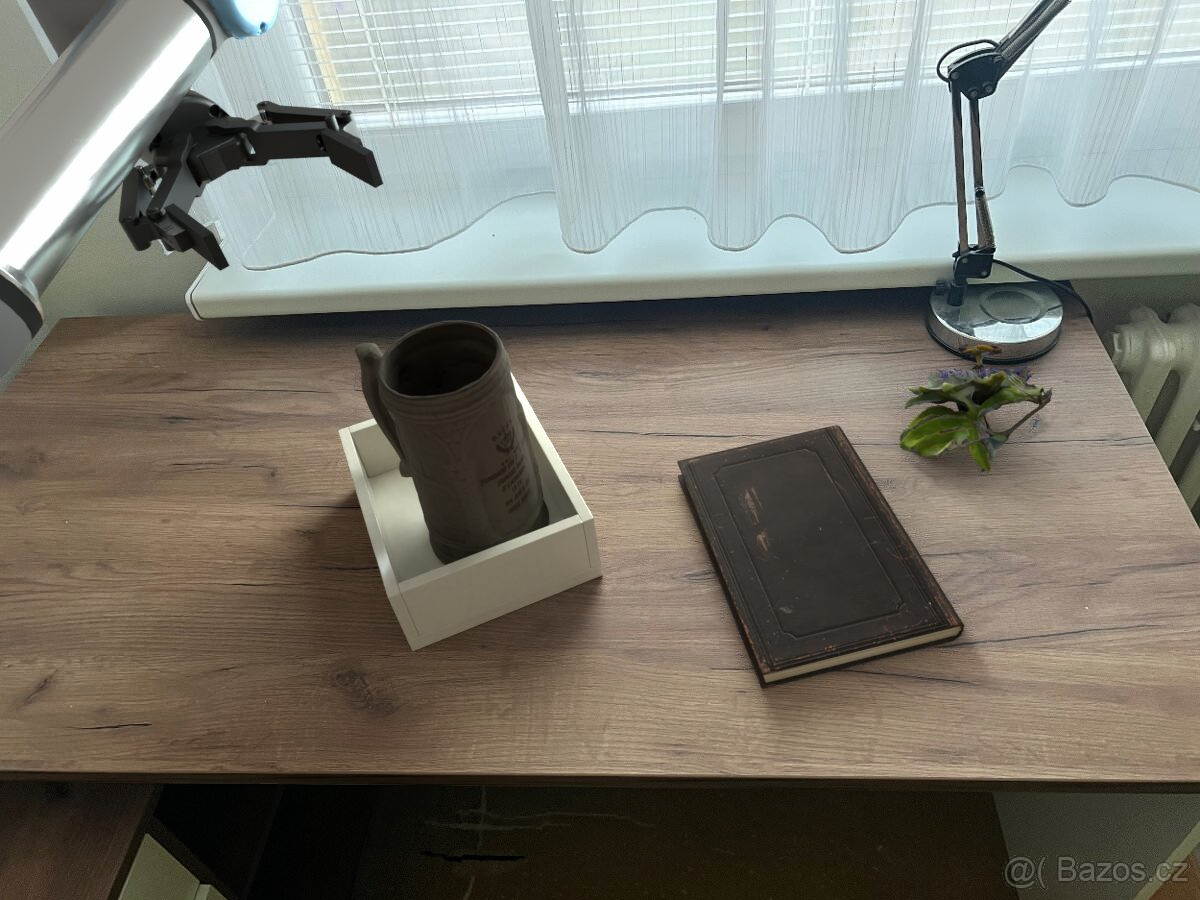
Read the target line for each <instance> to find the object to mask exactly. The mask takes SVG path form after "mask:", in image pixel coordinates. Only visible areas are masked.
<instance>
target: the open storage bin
mask: <svg viewBox="0 0 1200 900" xmlns="http://www.w3.org/2000/svg"><path fill="white" fill-rule="evenodd" d="M511 376H512V379H513V382H514V386H515V391H516V395H517V397H518V399H519V401H520V402H521V404H522V406H523V410H524V413H525V416H526V419H527V423H528V428H529V434H530V438H531V441H532V445H533V449H534V453H535V455H536V457H537V461H538V464H539V473H540V477H541V486H542V491H543V499H544V501H545V503H546V505H547V508H548V511H549V526H547V527H544V528H541V529H539V530H536V531H533V532H531V533H528V534H526V535H523V536H520V537H518V538H515V539H513V540H510V541H507V542H505V543H502V544H500V545H497V546H494V547H492V548H489V549H487V550H484V551H481V552H479V553H476V554H473V555H471V556H468V557H466V558H463V559H460V560H458V561H455V562H453V563H450V564H447V565H445V564H443V563H442V562H441V561H440V560H439V559H438V558H437V557H436V555H435V553H434V552H433V549H432V546H431V544H430V539H429V530H428V528H427V526H426V523H425V521H424V515H423V511H422V508H421V505H420V502H419V498H418V494H417V491H416V489H415V485H414V482H413V479H412V477H408V478H406V477H402V476H401V474H400V471H399V462H400V461H401V460H400V458H399V456H398V454H397V453H396V451H395V449H394V448H393V446H392V445H391V444H390V442H389V441H388V439H387V438H386V436H385V435H384V434H383V432H382V430H381V429H380V427H379V426H378V424H377V422H376V421H375V419H374V417H372V418H370V419H367V420H365V421H361V422H359V423H355V424H352V425H349V426H347V427H344V428H341V429H337V433H338V436H339V439H340V443H341V446H342V450H343V453H344V455H345V459H346V463H347V466H348V470H349V473H350V476H351V480H352V483H353V486H354V489H355V493H356V497H357V499H358V504H359V506H360V509H361V513H362V517H363V520H364V523H365V526H366V530H367V533H368V536H369V539H370V544H371V546H372V550H373V554H374V556H375V560H376V564H377V566H378V570H379V573H380V578H381V580H382V583H383V587H384V590H385V593H386V597H387V599H388V601H389V604H390V606H391V608H392V611H393V612H394V615H395V616H396V619H397V621H398V623H399V625H400V628H401V630H402V632H403V634H404V637H405V639H406V641H407V643H408V645H409V648H410V650H411V651H412V652H415V651H418V650H421V649H423V648H425V647H428V646H430V645H433V644H435V643H438V642H440V641H443V640H446V639H448V638H450V637H452V636H455V635H457V634H460V633H462V632H465V631H468V630H470V629H472V628H475V627H477V626H480V625H482V624H485V623H488V622H490V621H492V620H495V619H498V618H499V617H503V616H504V615H507V614H510V613H513V612H514V611H517V610H519V609H522V608H524V607H527V606H530V605H532V604H535V603H537V602H540V601H543V600H544V599H548V598H550V597H552V596H555V595H556V594H559V593H562V592H564V591H568V590H569V589H572V588H574V587H577V586H579V585H582V584H584V583H587V582H589V581H592V580H595V579H597V578H599V577H601V576H603V575H604V573H603V572H604V571H603V566H602V559H601V554H600V548H599V542H598V535H597V528H596V522H595V517H594V515H593V514H592V512H591V510H590V509H589V506H587V503H586V501H585V500H584V498H583V496H582V494H581V492H580V491H579V489H578V487H577V486H576V483H575V482H574V480H573V478H572V477H571V475H570V474H569V471H568V470H567V468H566V466H565V465H564V462H563V461H562V459H561V457H560V456H559V453H558V452H557V450H556V448H555V447H554V445H553V443H552V441H551V440H550V438H549V436H548V435H547V433H546V431H545V429H544V428H543V426H542V424H541V422H540V420H539V418H538V416H537V415H536V414H535V411H534V409H533V408H532V405H530V403H529V401H528V399H527V398H526V396H525V394H524V392H523V390H522V389H521V387H520V385H519V383H518V382H517V380H516V378H515V376H514V375H513V373H512V372H511Z"/></svg>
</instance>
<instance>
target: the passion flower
mask: <svg viewBox="0 0 1200 900" xmlns="http://www.w3.org/2000/svg"><path fill="white" fill-rule="evenodd" d="M957 350H958V354H960V355H962V356H967V358H975V361H976V364H975V365H974V366H973V367H972V368H970V369H968V370H967V369H966V370H964V369H962V368H960V369H956V368H953V369H948V368H947V369H945V370H943V369H942V370H941V369H938V368H937V369H936V371H938V372H930V374H929V375H928V376H927V379H926V381H925V384H926V385H927V386H924V385H920V384H919V385H918V388H916V387H911V386H908V387H907V388H908V390H909V391H910V392H911V393H912V394H913V395H916V396H913V397H911V398H910V399H908V401H906V402H905V403H904V407H903V409H905V410H907V409H908V408H911V407H913V406H915V405H917V406H920V405H923V404H935V405H931V406H928V407H927V408H926V409H925V410H923V411H921V412H920V413H919V414H918V415H916V416H915V417H914V419H912V421H911V422H910V423H909V424H908V426H907V427H905V428H904V429H903V430H902V431H901V432H900V434H899V441H900V442H899V448H900V449H902V450H903V451H907V452H915V453H916V454H917V455H918V456H921V457H926V458H928V457H937V458H939V459H942V458H943V457H944V455H945V454H946V453H949V452H951V451H953V450H955V449H957V448H959V447H962V448H966V447H968V451H969V452H970V455H971V458H972V459H973V460H974V461H975V462H976V464H977V465H978V466H980V468H982V469H981V473H985V471H986V472H988V473H989V472H990V471H991V469H992V467H991V463H992V460H993V459H994V457H995V456H996V454H997V453H998V451H999V450H1000V448H1001V447H1002V446H1003V445H1004V444H1005V443H1006V442H1007V441H1008V440H1009V438H1010V436H1011V435H1012V433H1014V431H1016V430H1017V429H1018V428H1019V427H1021V426H1022V425H1023V424H1024V423H1026V421H1028V420H1029V419H1030V418H1031V417H1033V416H1034V415H1035V414H1037V413H1038V412H1040V411H1041V410H1042V409H1044V408H1045V407H1046V406H1047V405H1048V404H1049V403H1050V402H1051V400H1052V396H1053V391H1052V390H1053V387H1052V386H1051V387H1050V388H1049V389H1048V390H1046V391H1045V389H1044V387H1037V386H1036V385H1035V384H1033V383H1032V384H1029V383H1028V381H1029V380H1030V378H1032V377H1033V375H1032V374H1029V373H1030V372H1031V368H1030V367H1028V366H1022V367H1019V368H1013V369H1012V368H1009V367H1008V368H1001V369H999V368H998V367H994V366H991V367H989V368H986V367H985V366H984V364H983V358H984V357H985V356H994V355H998V354H1003V353H1004V351H1005V349H1004V348H1003V347H999V346H997V345H986V344H980V343H978V344H963V345H959V346H958V347H957ZM1022 402H1029V403H1032V404H1035V405H1037V407H1035V408H1034V409H1033V410H1031V411H1030V412H1029V413H1026V415H1025V416H1024V417H1022V418H1021V419H1020V420H1019V421H1018V422H1016V423H1015V424H1013V426H1012V427H1010V428H1009V429H1005V430H1003V431H995V430H993V429H992V427H991V426H990V424H989V422H988V420H987V417H986V415H988V414H989V413H991V412H992V411H997V410H999V409H1000V408H1001V407H1002V406H1008V405H1013V404H1021V403H1022ZM946 403H955V405H956V408H957V410H958V411H956V410H954V409H953V408H951V407H948V406H945V405H943V404H946ZM983 420H984V422H983ZM984 424H985V425H984ZM981 432H984V433H986V434H988V435H989V436H985V435H983V434H982V433H981Z"/></svg>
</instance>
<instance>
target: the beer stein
mask: <svg viewBox="0 0 1200 900" xmlns="http://www.w3.org/2000/svg"><path fill="white" fill-rule="evenodd" d="M354 352H355V355H356V357H357V359H358V362H359V366H360V380H361V384H360V385H361V391H362V394H363V397H364V399H365V402H366V405H367V407H368V409H369V411H370V413H371V415H372V418H374V419H375V421H376V422H377V424H378V426H379V427H380V429H381V430H382V432H383V434H384V435H385V436H386V438H387V439H388V441H389V442H390V444H391V445H392V446H393V448H394V449H395V451H396V453H397V454H398V456H399V458H400V460H401V461H400V462H399V471H400V474H401V476H402V477H406V478H408V477H412V479H413V482H414V485H415V489H416V491H417V494H418V498H419V502H420V505H421V508H422V511H423V515H424V521H425V523H426V526H427V528H428V530H429V539H430V544H431V546H432V549H433V552H434V553H435V555H436V557H437V558H438V559H439V560H440V561H441V562H442V563H443V564H445V565H447V564H450V563H453V562H455V561H458V560H460V559H463V558H466V557H468V556H471V555H473V554H476V553H479V552H481V551H484V550H487V549H489V548H492V547H494V546H497V545H500V544H502V543H505V542H507V541H510V540H513V539H515V538H518V537H520V536H523V535H526V534H528V533H531V532H533V531H536V530H539V529H541V528H544V527H547V526H549V511H548V508H547V505H546V503H545V501H544V499H543V491H542V486H541V477H540V473H539V464H538V461H537V457H536V455H535V453H534V449H533V445H532V441H531V438H530V434H529V428H528V423H527V419H526V416H525V413H524V410H523V406H522V404H521V402H520V401H519V399H518V397H517V395H516V391H515V386H514V382H513V379H512V376H511V373H512V372H511V371H512V364H511V359H510V356H509V353H508V351H507V350H506V348H505V347H504V344H503V342H502V340H501V338H500V337H499V335H498V334H497V333H496V332H495V331H494V330H493V329H492V328H490V327H488V326H486V325H485V324H482V323H479V322H474V321H469V320H461V319H459V320H457V319H456V320H443V321H438V322H432V323H430V324H426V325H423V326H421V327H418V328H415V329H413V330H411V331H409V332H407V333H406V334H405V335H403V336H401V337H399V338H398V339H397V340H395V341H393V343H391V345H390V346H389V347H388V348H387V349H386V350H385V351H384V353H382V351H381V349H380V348H379V346H378V344H377V343H373V342H363V343H360V344H357V345H356V347H355V348H354Z"/></svg>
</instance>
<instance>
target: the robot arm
mask: <svg viewBox="0 0 1200 900" xmlns="http://www.w3.org/2000/svg"><path fill="white" fill-rule="evenodd" d="M25 1H26V3H27V4H28V6H29V8H30V9H31V11H32V13H33V15H34V17H35V18H36V20H37V22H38V24H39V26H40V28H41V29H42V31H43V32H44V34H45V36H46V38H47V39H48V41H49V43H50V44H51V47H52V48H53V50H54V52H55V53H56V56H57V59H56V60H55V61H54V62H53V63H52V64H51V66H50V67H49V68H48V70H46V72H45V73H44V74H43V75H42V77H40V79H39V80H38V81H37V82H36V84H34V86H33V87H32V88H31V89H30V90H29V92H28V93H27V94H26V95H25V96H24V97H23V98H22V100H21V101H20V102H19V103H18V105H16V106H15V108H14V109H13V110H12V111H11V113H10V114H9V115H8V116H7V117H6V118H5V120H3V122H1V124H0V381H1V380H2V379H3V378H4V377H5V376H6V375H7V374H8V373H9V371H10V370H11V369H12V368H13V366H14V365H15V364H16V363H17V361H18V360H19V359H20V357H21V356H22V355H23V354H24V353H25V352H26V350H27V349H28V348H29V346H30V345H31V343H32V342H33V340H34V339H35V337H36V335H37V334H38V333H39V331H40V330H41V328H43V325H44V324H45V322H46V314H45V311H44V308H43V306H42V303H41V300H40V298H41V297H42V296H43V294H44V293H45V291H46V290H47V289H48V288H49V286H50V284H51V283H52V282H53V280H54V279H55V278H56V276H57V275H58V273H59V272H60V271H61V270H62V268H63V266H64V265H65V263H67V261H68V260H69V258H70V256H71V255H72V254H73V252H74V251H75V250H76V248H77V247H78V245H79V244H80V243H81V241H82V240H83V238H84V237H85V236H86V234H87V233H88V231H89V230H90V228H91V227H92V226H93V224H94V223H95V221H96V220H97V219H98V218H99V217H100V215H101V213H102V212H103V210H104V209H105V208H106V206H107V205H108V204H109V202H110V201H111V200H112V198H113V197H114V195H115V194H116V192H117V191H118V190H119V188H120V187H121V193H120V194H121V195H120V204H119V212H118V220H117V221H118V223H119V225H120V226H121V228H122V230H123V232H124V233H125V235H126V236H127V238H128V240H129V241H130V243H131V245H132V247H133V248H134V250H135V251H136V252H143V251H147V250H148V249H149V248H151V247H152V244H153V241H157V240H159V241H160V242H161V244H162V245H163V247H164V249H165V250H166V252H175V251H176V252H178V253H185V252H188V251H189V250H191V249H192V250H193V251H194V252H196V253H197V254H198V255H199V256H201V257H202V258H203V259H205V261H207V262H208V263H209V264H211V265H212V266H213V267H215V268H216V269H217V270H218V271H220V272H221V271H223V270H226V268H229V267H230V266H231V265H230V264H229V261H228V260H227V258H226V256H225V253H224V251H223V250H222V248H221V246H220V243H219V242H218V240H217V238H216V236H215V234H214V232H212V230H210V229H209V228H207V227H206V226H205V225H203V224H202V223H201V222H199V221H198V220H196V218H194V217H193V216H191V215H190V214H189V212H190V210H191V208H192V205H193V204H194V201H195V199H197V198H201V197H202V195H203V193H204V191H205V189H206V186H207V185H209V184H210V183H211V182H214V181H216V180H217V179H219V178H221V177H223V176H224V175H226V174H227V173H229V172H232V171H237V170H240V169H241V168H245V167H264V166H266V165H268V163H269V162H270V161H273V160H274V161H275V160H293V159H294V160H295V159H313V158H316V159H317V158H328V159H329V161H330V164H332V165H333V166H335V167H336V168H339V169H340V170H342V171H344V172H346V173H348V174H349V175H351V176H353V177H354V178H356V179H358V180H360V181H362V182H364V183H365V184H367V185H369V186H371V187H372V188H374V189H376V188H378V187H380V186H382V185H384V181H383V178H382V175H381V172H380V169H379V166H378V163H377V160H376V157H375V154H374V152H373V150H371V149H369V148H367V147H366V146H364V144H363V141H362V138H361V135H360V132H359V129H358V126H357V122H356V120H355V117H354V114H353V111H352V110H350V109H336V108H324V107H323V108H321V107H310V106H308V107H307V106H295V105H283V104H281V105H280V104H277V103H275V102H273V101H269V100H262V101H259V102H258V103H257V104H255V105H256V109H257V111H258V113H257V114H256V115H254V116H252V117H250V118H248V119H246V118H244V117H240V116H231V115H230V114H229V113H228V112H227V111H226V110H225V109H224V108H223V107H221V106H220V105H219V104H218V103H216V102H215V101H213V99H211V98H209V97H206V96H205V95H203V94H201V93H199V92H198V91H196V90H195V89H193V88H191V87H192V86H193V85H194V84H195V83H196V81H197V80H198V78H199V77H200V75H201V74H202V72H203V71H204V70H205V68H206V67H207V66H208V64H209V63H210V61H211V60H212V58H213V57H214V56H215V55H216V53H218V51H219V50H220V48H221V47H222V46H223V44H224V43H225V41H227V40H228V39H230V38H234V39H236V40H241V41H242V40H245V39H246V38H247V37H259V36H262V35H263V34H266V33H267V32H268V31H269V30H271V28H272V27H273V25H274V24H275V21H276V19H277V15H278V11H279V5H280V4H279V3H280V0H25ZM252 150H253V152H254V153H252ZM140 160H142V161H143V162H144V163H146V164H147V165H145V166H143V165H141V164H139V165H137V163H138V162H139V161H140ZM160 179H161V180H160ZM159 180H160V183H159V185H158V187H157V188H155V187H156V186H157V181H159Z"/></svg>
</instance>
